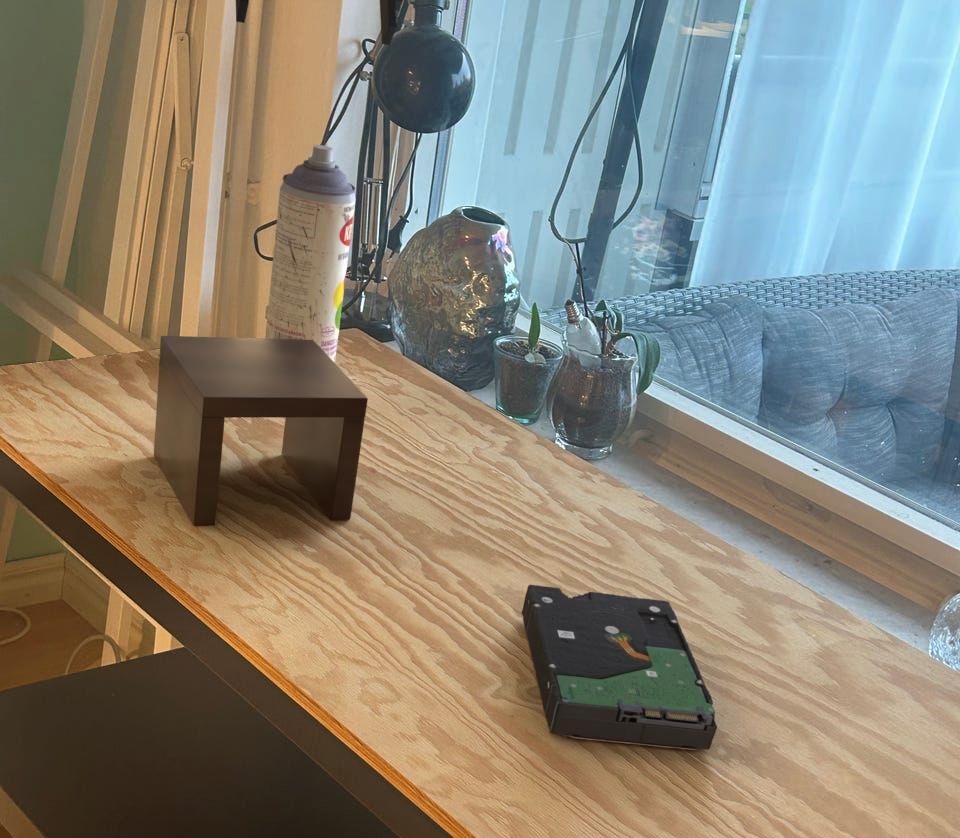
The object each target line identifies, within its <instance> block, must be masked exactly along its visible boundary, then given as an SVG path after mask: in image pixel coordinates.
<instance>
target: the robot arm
mask: <svg viewBox="0 0 960 838" xmlns="http://www.w3.org/2000/svg"><path fill="white" fill-rule="evenodd" d="M404 1H405V0H379V13H380V14H379V17H380V30H381V31H380V34H381V45H384V46H390V45H391V43H392V40H393V37H394V35H395V32H396V30H397V28H398V25H397V12H400V11H401V9H402V6H403V3H404ZM249 3H250V0H235V20H236V21H235V22H236V23H243V24H245V22H246V17H247V13H248V9H249Z"/></svg>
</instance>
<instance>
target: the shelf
mask: <svg viewBox="0 0 960 838" xmlns="http://www.w3.org/2000/svg"><path fill="white" fill-rule="evenodd" d="M159 345H160V346H159V359H158V374H157V375H158V377H157V395H156V409H155V410H156V411H155V425H154V426H155V428H154V443H153V444H154V445H153V457H154V459H155V461H156V462H157V464H158V466H159V468H160V470H161V471H162V474H163V475H164V476H165V478H166V480H167V482H168V484H169V486H170V487H171V489H172V490H173V492H174V494H175V496H176V498H177V499H178V500H179V503H180V504H181V506H182V507H183V509H184V512H185V513H186V515H187V517H188V518H189V520H190V522H191V524H192V525H193V527H194V526H195V527H196V526H200V527H201V526H216V521H217V513H218V512H217V511H218V501H219V500H218V499H219V487H220V476H221V467H222V466H221V465H222V455H223V454H222V453H223V442H224V432H225V421H226V418H229V419H230V418H233V419H235V418H239V419H240V418H243V419H245V418H284V419H285V420H284V427H283V437H282V445H281V456H282V457H283V459H284V460H285V461H286V462H287V464H288V465H289V467H290V468H291V469H292V470H293V472H294V473H295V474H296V476H297V477H298V478H299V480H300V481H301V482H302V483H303V485H304V486H305V488H306V489H307V490H308V492H309V493H310V494H311V495H312V497H313V498H314V500H315V501H316V503H317V504H318V506H320V508H321V509H322V510H323V512H324V513H325V514H326V516H327V517H328V518H329V520H330V521H346V520H351V517H352V511H353V503H354V496H355V490H356V482H357V475H358V469H359V468H358V467H359V461H360V455H361V447H362V440H363V433H364V427H365V420H366V413H367V407H368V400H369V399H368V397H367V396H366V394H365V393H364V392H363V391H362V390H361V389H360V388H359V387H358V385H356V383H354V381H352V380H351V378H350V377H349V376H348V375H347V374H346V372H344V371H343V370H342V369H341V368H340V367H339V366H338V365H337V363H336V362H335V363H334V362H333V361H332V359H331V358H330V357H329V356H328V355H327V354H326V353H325V352H324V351H323V350H322V349H321V348H320V347H319V346H318V345H317V343H316V342H315V341H314V340H300V339H265V338H258V337H257V338H256V337H226V336H225V337H224V336H223V337H221V336H220V337H218V336H189V335H188V336H184V335H181V336H180V335H161V336H160V344H159Z"/></svg>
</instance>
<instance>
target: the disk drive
mask: <svg viewBox="0 0 960 838" xmlns="http://www.w3.org/2000/svg"><path fill="white" fill-rule="evenodd" d="M521 615H522V622H523V626H524V630H525V631H524V632H525V635H526V639H527V643H528V648H529V651H530V657H531V661H532V666H533V669H534V671H535V676H536V681H537V686H538V690H539V696H540V699H541V704H542V709H543V712H544V716H545V720H546V723H547V727H548V731H549V734H551V735H556V736H557V735H561V736H562V737H569V738H572V739H578V740H579V739H580V740H581V739H582V740H588V741H601V742H611V743H620V744H621V743H623V744H629V745H631V744H632V745H638V746H639V745H640V746H647V747H659V748H668V749H670V748H671V749H680V750H689V751H691V750H692V751H698V750H701V749H702V750H705V751H707V750H710V749H711V746H712V744H713V740H714V737H715V735H716V732H717V730H718V726H717V723H716V721H715V719H716V718H715V716H716V710H715V709H714V707H713V704H714V702H713V698H712V696H711V693H710V691H709V690H708V688H707V685H706V683H705V682H704V679H703V676H702V674H701V671H700V669H699V667H698V664H697V662H696V661H695V657H694V656H693V655H694V654H693V653H692V650H691V649H690V647H689V644H688V641H687V639H686V637H685V635H684V632H683V630H682V628H681V625H680V623H679V620H678V616H677V615H676V613H675V611H674V609H673V607H672V605H671V603H670V601H668V600H662V599H653V598H646V597H645V598H643V597H635V596H634V597H633V596H627V595H619V594H614V593H604V592H595V591H588V592H586V593H583V594H579V595H575V596H572V597H569V595H567V594H566V593H564V592H563V591H562V589H561V588H560V587H556V586H555V587H554V586H546V585H536V584H528V586H527V587H526V592H525V597H524V601H523V606H522V610H521Z"/></svg>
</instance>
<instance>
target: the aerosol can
mask: <svg viewBox="0 0 960 838" xmlns="http://www.w3.org/2000/svg"><path fill="white" fill-rule="evenodd" d="M312 148H313V149H312V154H311V156H308V157H307V159H305V160H303V163H301V164H298V165H296V166H295V168H294V169H293V170H292V173H290V172H289V173H287V174H284V175H283V176H282V183H281V185H280V187H279V195H278V204H277V205H278V206H277V215H276V216H277V217H276V226H275V236H274V245H273V256H272V266H271V276H270V286H269V296H268V305H267V306H268V307H267V317H266V326H265V338H264V339H300V340H314V341H315V342H316V343H317V345H318V346H319V347H320V348H321V349H322V350H323V351H324V352H325V353H326V354H327V355H328V356H329V357H330V358H331V359H332V361H333V362H334V363H335V364H336V355H337V349H338V341H339V332H340V327H341V326H340V324H341V319H342V318H341V316H342V310H343V301H344V295H345V293H344V292H345V287H346V279H347V278H346V277H347V271H348V262H349V255H350V254H349V253H350V245H351V240H352V239H351V238H352V230H353V222H354V216H355V215H354V214H355V206H356V195H355V192H356V187H355V186H354V185H353V184H352V183H350V182H348V178H347V176H346V174H345V173H344V172H343V171H342V170H340V166H339V165H337V164H336V161H334V160H333V156H334V155H333V152H334V148H333V147H331V146H328V145H324V144H323V145H322V144H314V145H313V147H312Z"/></svg>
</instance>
